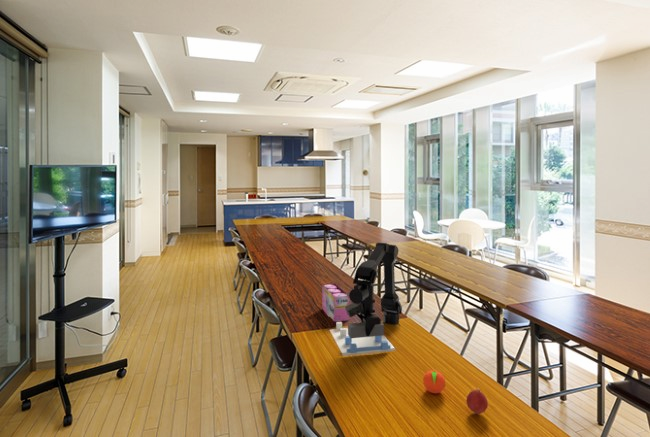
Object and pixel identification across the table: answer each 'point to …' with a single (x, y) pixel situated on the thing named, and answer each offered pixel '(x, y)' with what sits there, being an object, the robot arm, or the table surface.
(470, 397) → the onion
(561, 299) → the table surface
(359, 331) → the long grey block
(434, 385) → the clementine
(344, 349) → the board
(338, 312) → the pink drink multipack
